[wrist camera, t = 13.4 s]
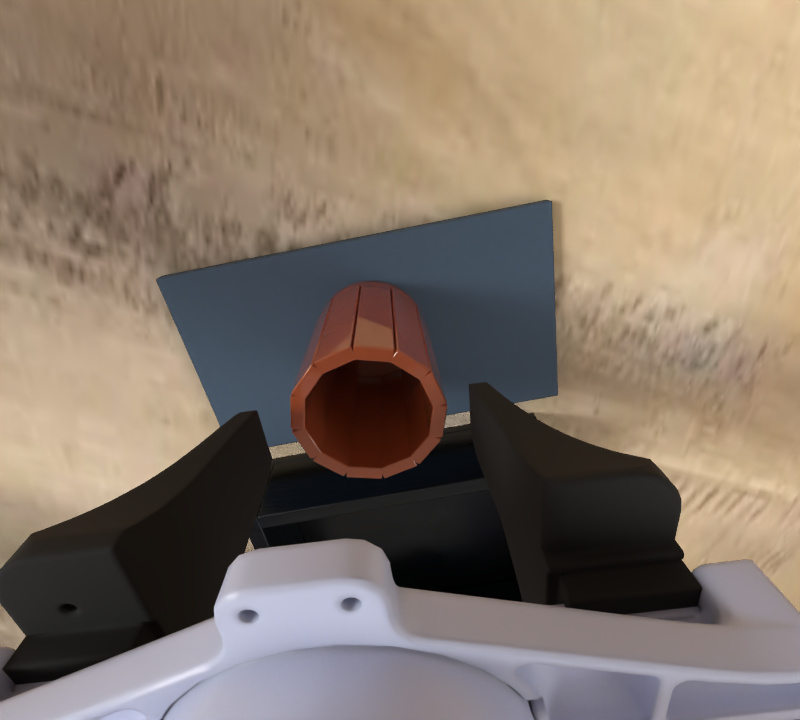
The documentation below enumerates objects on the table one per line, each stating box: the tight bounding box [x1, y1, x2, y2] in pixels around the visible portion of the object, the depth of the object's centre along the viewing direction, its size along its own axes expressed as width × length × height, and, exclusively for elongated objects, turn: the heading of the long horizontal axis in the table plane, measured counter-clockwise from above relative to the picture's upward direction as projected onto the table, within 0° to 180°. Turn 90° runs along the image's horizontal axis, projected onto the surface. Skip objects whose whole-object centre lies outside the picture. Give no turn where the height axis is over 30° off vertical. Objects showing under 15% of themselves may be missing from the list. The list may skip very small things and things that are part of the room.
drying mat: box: [156, 200, 558, 447], centre depth 22 cm, size 18×10×1 cm, turn 100°
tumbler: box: [290, 281, 448, 479], centre depth 18 cm, size 5×5×8 cm
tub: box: [249, 413, 537, 602], centre depth 26 cm, size 16×14×4 cm
